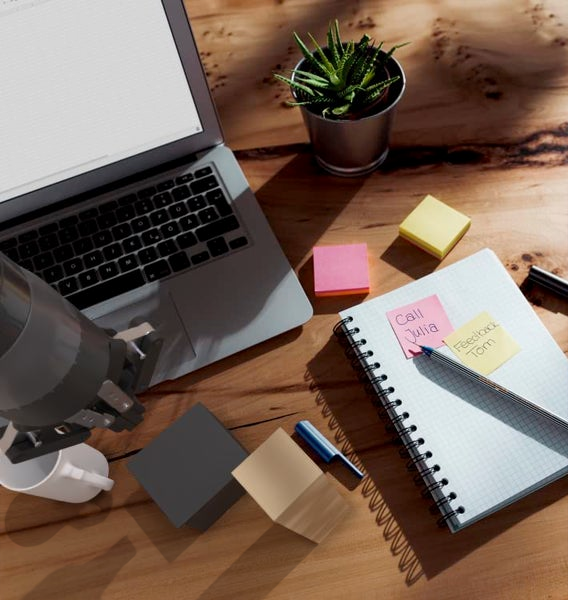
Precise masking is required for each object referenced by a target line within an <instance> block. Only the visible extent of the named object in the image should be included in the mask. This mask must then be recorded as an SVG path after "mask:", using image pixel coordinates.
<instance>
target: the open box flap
mask: <svg viewBox="0 0 568 600" xmlns="http://www.w3.org/2000/svg"><path fill="white" fill-rule="evenodd" d="M201 403H202V402H201V401H197V402H196V403H195V404H193V405H192V406H191V407H190V408H189V409H188V410H187V411H185V412H183V414H182V415H181V416H180V417H178V418H176V420H175V421H174V422H172V423H171V424H170V425H169V426H167V428H165V429H164V430H163V431H162V432H161V433H159V434H158V435H157V436H156V437H155V438H153V440H151V441H150V442H148V444H147V445H145V446H144V447H143V448H142V449H141V450H140V451H138V452H137V453H135V455H134V456H132V457H131V458H130V459H129V460H127V461H126V462H125V463H124V466H125V467H126V469H127V470H128V471H129V473H130V474H131V475H132V476H133V477H134V478H135V480H136V481H137V482H138V483H139V485H140V486H141V487H142V488H143V489H144V490H145V492H146V493H147V494H148V495H149V496H150V498H151V499H152V501H153V502H154V503H155V505H157V506H158V508H159V509H160V510H161V511H162V513H163V514H164V516H166V517H167V518H168V520H169V521H170V522H171V524H173V526H174V527H175V528H176V530H179V531H180V530H181V529H183V528H184V527H186V526H185V525H186V524H187V523H188V522H189V521H190V520H191V519H192V518H193V517H194V516H196V515H197V514H198V513H199V512H200V511H201V510H202V509H203V508H204V507H205V506H206V505H207V504H209V503H210V502H211V501H212V500H213V499H214V498H215V497H216V496H217V495H218V494H219V493H221V492H222V491H223V490H224V489H225V488H226V487H227V486H228V485H229V484H230V483H231V482H233V481H234V480H235V479H236V478H235V477H234V476H233V475H232V474H231V473H232V472H233V471H234V470H235V469H236V468H237V467H238V466H239V465H240V464H241V463H242V462H243V461H244V460H245V459H246V458H248V457H249V456H248V454H247V453H246V452H245V451H244V450H243V449H242V448H241V447H240V446H239V445H238V443H237V442H236V441H235V440H234V439H233V438H232V437H231V436H230V435H229V433H228V432H227V431H226V430H225V429H224V428H223V427H222V426H221V425H220V424H219V422H218V421H217V420H216V419H215V418H214V417H213V416H212V415H211V414H210V412H209V411H210V410H209V409H208V408H207V407H206V406H205V405H204V404H203V403H202V404H203V405H204V406H205V407H206V408H207V409H208V410H209V411H208V410H207V409H206V408H205V407H204V406H203V405H202V404H201Z"/></svg>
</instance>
